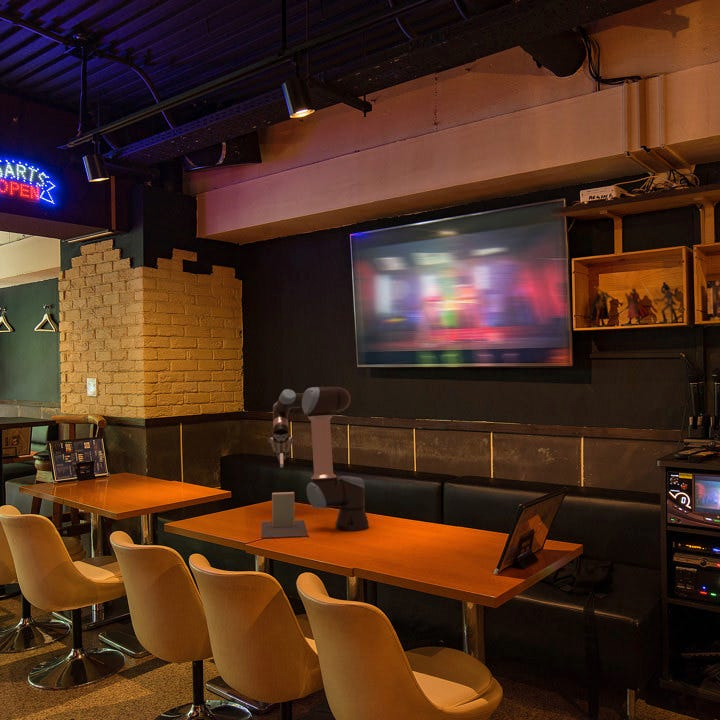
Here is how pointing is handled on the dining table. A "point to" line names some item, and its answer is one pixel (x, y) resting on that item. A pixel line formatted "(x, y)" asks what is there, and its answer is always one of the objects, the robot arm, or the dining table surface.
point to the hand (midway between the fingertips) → (281, 465)
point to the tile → (283, 509)
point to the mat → (283, 530)
